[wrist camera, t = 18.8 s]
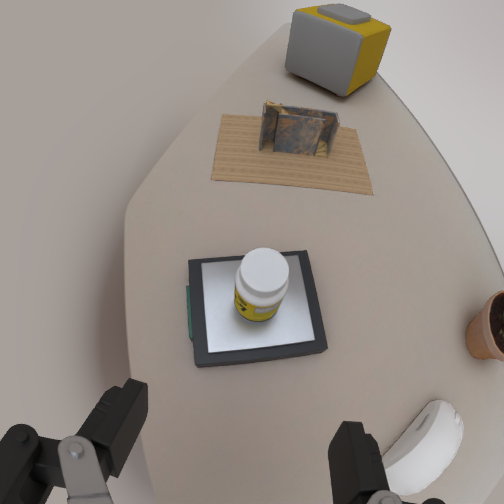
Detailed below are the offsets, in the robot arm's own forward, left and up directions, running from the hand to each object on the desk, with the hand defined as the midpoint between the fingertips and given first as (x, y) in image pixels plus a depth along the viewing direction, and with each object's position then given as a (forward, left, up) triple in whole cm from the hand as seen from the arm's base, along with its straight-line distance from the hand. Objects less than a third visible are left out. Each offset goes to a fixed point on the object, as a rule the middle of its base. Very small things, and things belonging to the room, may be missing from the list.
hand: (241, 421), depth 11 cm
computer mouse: (+21, -10, -22) cm, 31 cm away
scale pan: (+4, +11, -19) cm, 22 cm away
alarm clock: (+29, +63, -22) cm, 73 cm away
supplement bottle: (+4, +11, -18) cm, 22 cm away
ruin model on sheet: (+14, +37, -22) cm, 45 cm away
